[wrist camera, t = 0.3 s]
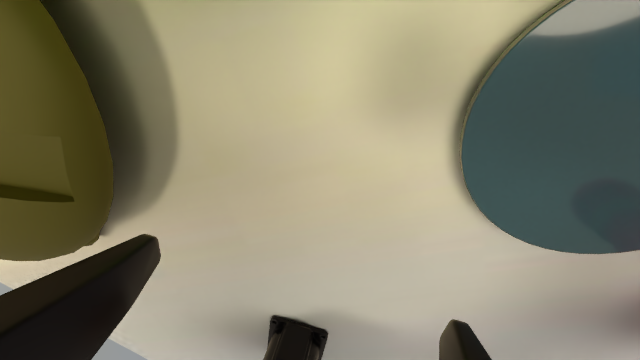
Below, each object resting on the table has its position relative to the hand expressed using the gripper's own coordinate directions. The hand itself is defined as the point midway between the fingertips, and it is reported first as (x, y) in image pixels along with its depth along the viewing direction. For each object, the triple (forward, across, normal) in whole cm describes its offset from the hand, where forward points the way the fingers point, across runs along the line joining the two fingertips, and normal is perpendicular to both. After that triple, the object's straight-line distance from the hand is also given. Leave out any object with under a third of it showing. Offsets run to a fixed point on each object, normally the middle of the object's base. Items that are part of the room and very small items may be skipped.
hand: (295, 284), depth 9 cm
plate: (+14, -15, -3) cm, 21 cm away
